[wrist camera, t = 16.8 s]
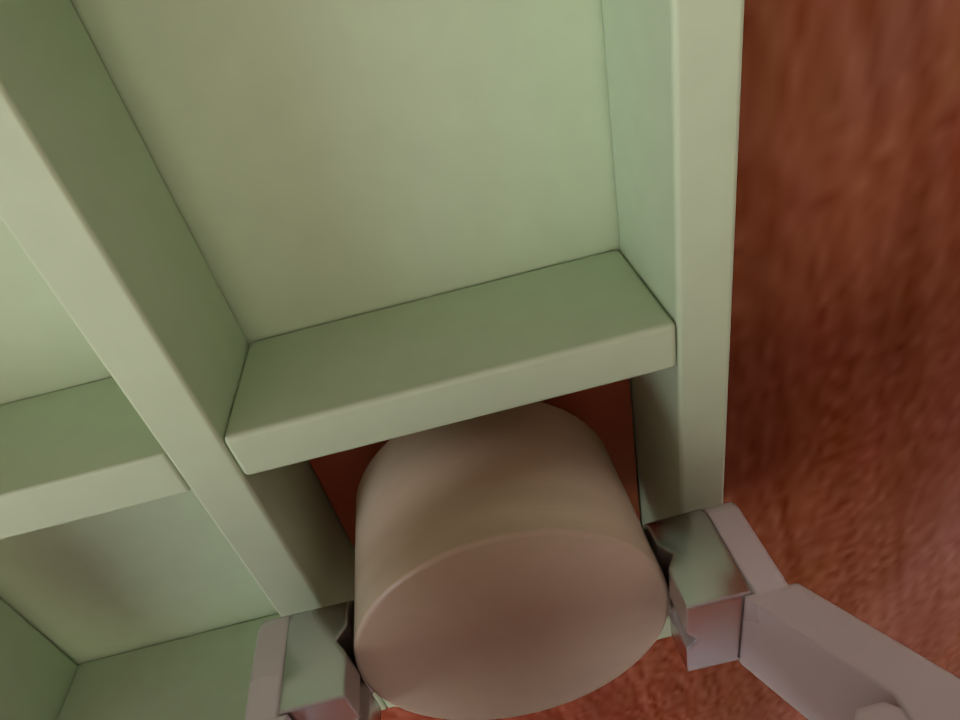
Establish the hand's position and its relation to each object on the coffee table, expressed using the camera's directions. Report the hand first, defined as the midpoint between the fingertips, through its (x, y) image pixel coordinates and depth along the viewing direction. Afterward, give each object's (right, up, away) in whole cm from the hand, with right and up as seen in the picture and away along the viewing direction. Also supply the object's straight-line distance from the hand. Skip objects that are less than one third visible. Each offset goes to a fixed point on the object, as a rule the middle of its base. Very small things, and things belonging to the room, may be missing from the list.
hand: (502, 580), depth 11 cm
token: (0, +1, +2) cm, 2 cm away
